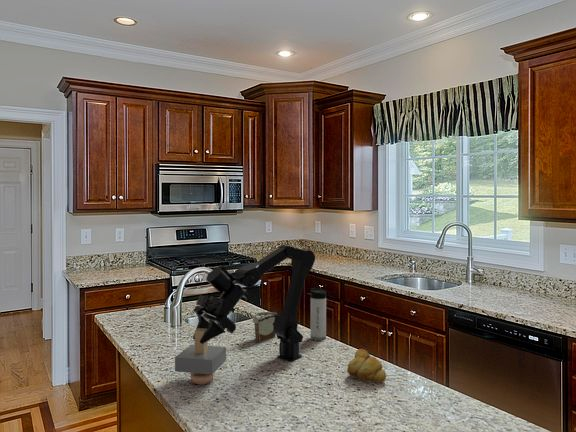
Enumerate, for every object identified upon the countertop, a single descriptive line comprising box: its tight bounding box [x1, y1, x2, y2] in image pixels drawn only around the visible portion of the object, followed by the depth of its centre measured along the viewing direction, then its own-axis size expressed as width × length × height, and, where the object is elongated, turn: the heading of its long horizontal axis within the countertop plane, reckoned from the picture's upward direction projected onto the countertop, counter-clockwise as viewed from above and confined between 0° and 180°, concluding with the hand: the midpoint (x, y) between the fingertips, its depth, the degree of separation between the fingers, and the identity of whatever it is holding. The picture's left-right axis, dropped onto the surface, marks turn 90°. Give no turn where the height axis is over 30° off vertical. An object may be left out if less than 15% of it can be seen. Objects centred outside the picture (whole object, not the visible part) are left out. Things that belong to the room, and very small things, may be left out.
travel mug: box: [310, 287, 327, 341], centre depth 190 cm, size 6×7×20 cm
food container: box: [252, 311, 278, 344], centre depth 190 cm, size 12×6×10 cm, turn 141°
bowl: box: [190, 373, 214, 385], centre depth 147 cm, size 7×7×3 cm
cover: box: [174, 328, 227, 375], centre depth 147 cm, size 12×12×11 cm
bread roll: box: [346, 348, 387, 384], centre depth 149 cm, size 13×10×8 cm
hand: (197, 341), depth 146 cm, fingers closed on cover, 4 cm apart
